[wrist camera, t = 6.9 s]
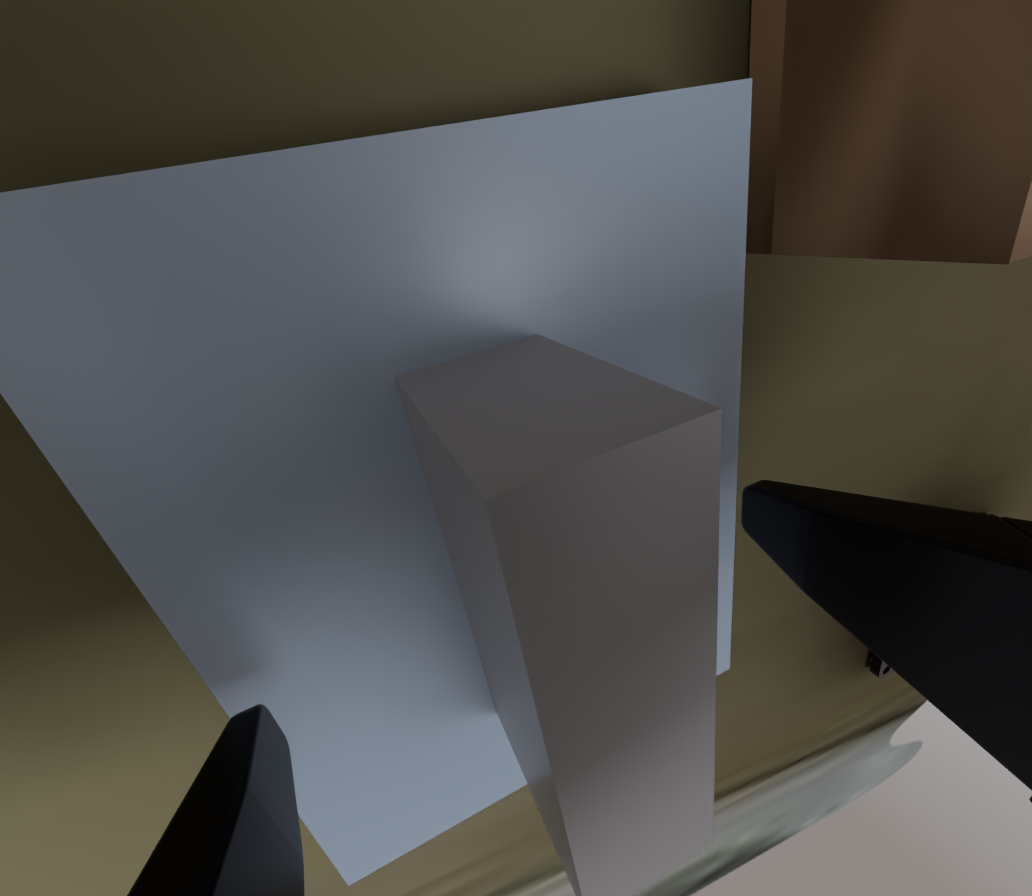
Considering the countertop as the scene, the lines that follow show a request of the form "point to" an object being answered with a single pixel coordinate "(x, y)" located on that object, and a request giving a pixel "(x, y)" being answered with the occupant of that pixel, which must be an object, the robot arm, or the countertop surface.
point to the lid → (423, 454)
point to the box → (891, 129)
